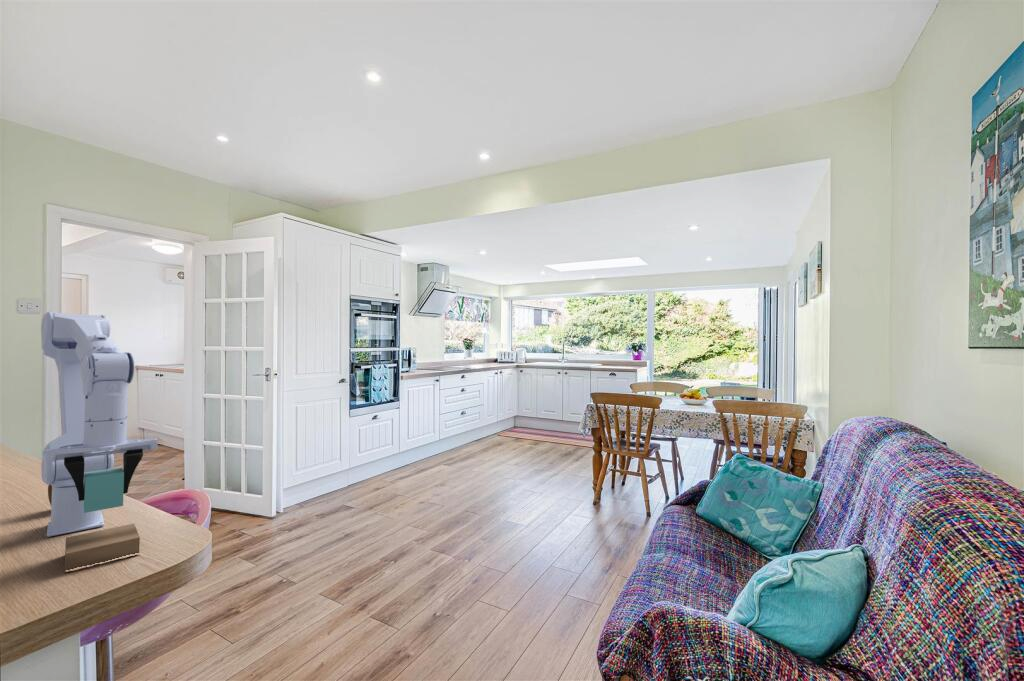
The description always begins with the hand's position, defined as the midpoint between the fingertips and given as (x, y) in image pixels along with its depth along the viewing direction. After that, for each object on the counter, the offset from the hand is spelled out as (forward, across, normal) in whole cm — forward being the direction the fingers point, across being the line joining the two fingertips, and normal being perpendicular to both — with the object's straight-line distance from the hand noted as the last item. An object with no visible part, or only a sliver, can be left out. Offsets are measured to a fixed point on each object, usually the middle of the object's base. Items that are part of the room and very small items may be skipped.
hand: (103, 495), depth 78 cm
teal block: (+2, 0, 0) cm, 2 cm away
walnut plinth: (+9, 0, -3) cm, 10 cm away
